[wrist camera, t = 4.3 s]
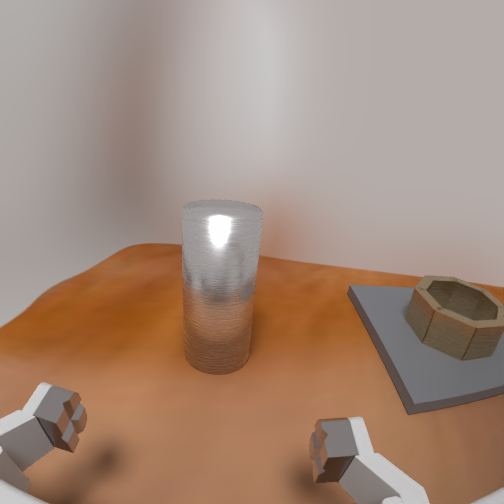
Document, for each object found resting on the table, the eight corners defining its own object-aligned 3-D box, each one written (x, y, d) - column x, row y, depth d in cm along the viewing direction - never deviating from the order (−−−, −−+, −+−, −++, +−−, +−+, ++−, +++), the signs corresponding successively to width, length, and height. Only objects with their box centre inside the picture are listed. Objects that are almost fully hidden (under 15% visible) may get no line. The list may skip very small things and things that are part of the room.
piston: (249, 336, 23) (261, 202, 19) (248, 376, 19) (264, 222, 15) (190, 331, 23) (190, 197, 19) (179, 370, 19) (174, 215, 15)
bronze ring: (462, 303, 27) (471, 277, 26) (509, 353, 19) (523, 323, 18) (393, 303, 27) (401, 274, 26) (435, 364, 19) (451, 329, 18)
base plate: (465, 296, 31) (467, 289, 31) (543, 379, 16) (548, 370, 16) (347, 293, 30) (349, 284, 30) (408, 414, 16) (414, 403, 15)
